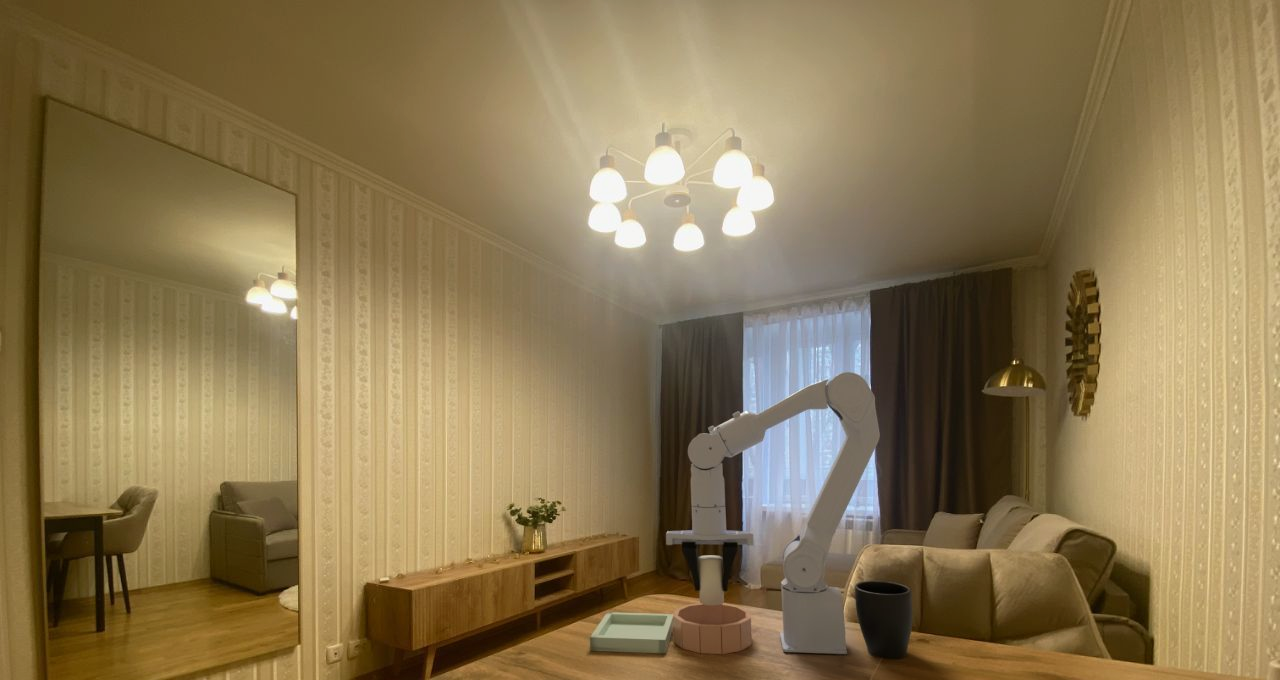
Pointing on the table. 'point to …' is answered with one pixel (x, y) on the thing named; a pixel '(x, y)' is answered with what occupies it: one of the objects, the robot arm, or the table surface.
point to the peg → (711, 580)
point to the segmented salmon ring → (712, 628)
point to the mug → (884, 617)
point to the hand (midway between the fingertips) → (711, 589)
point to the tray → (633, 633)
